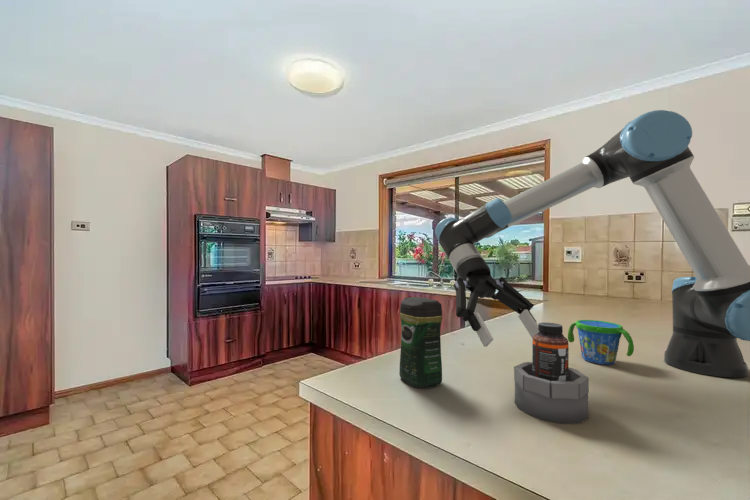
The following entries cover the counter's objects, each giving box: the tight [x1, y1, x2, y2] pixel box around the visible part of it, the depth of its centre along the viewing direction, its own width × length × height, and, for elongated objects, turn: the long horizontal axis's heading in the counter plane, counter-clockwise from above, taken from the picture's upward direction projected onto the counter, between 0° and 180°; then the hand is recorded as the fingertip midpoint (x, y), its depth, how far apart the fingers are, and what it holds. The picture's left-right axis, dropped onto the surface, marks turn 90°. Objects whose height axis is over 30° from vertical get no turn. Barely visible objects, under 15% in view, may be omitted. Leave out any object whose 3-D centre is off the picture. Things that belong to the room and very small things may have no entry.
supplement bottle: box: [531, 322, 570, 381], centre depth 62 cm, size 6×6×11 cm
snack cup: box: [567, 319, 635, 366], centre depth 90 cm, size 16×10×10 cm
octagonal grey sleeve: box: [513, 361, 590, 425], centre depth 62 cm, size 12×12×6 cm
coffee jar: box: [398, 296, 444, 389], centre depth 74 cm, size 10×8×19 cm
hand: (515, 340), depth 70 cm, fingers open, 13 cm apart
